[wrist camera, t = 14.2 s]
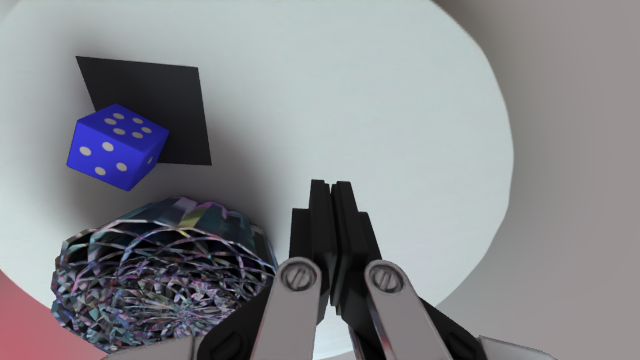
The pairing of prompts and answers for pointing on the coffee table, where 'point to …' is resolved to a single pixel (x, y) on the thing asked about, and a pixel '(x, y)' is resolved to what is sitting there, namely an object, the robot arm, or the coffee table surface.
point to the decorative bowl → (159, 274)
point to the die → (116, 146)
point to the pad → (154, 102)
